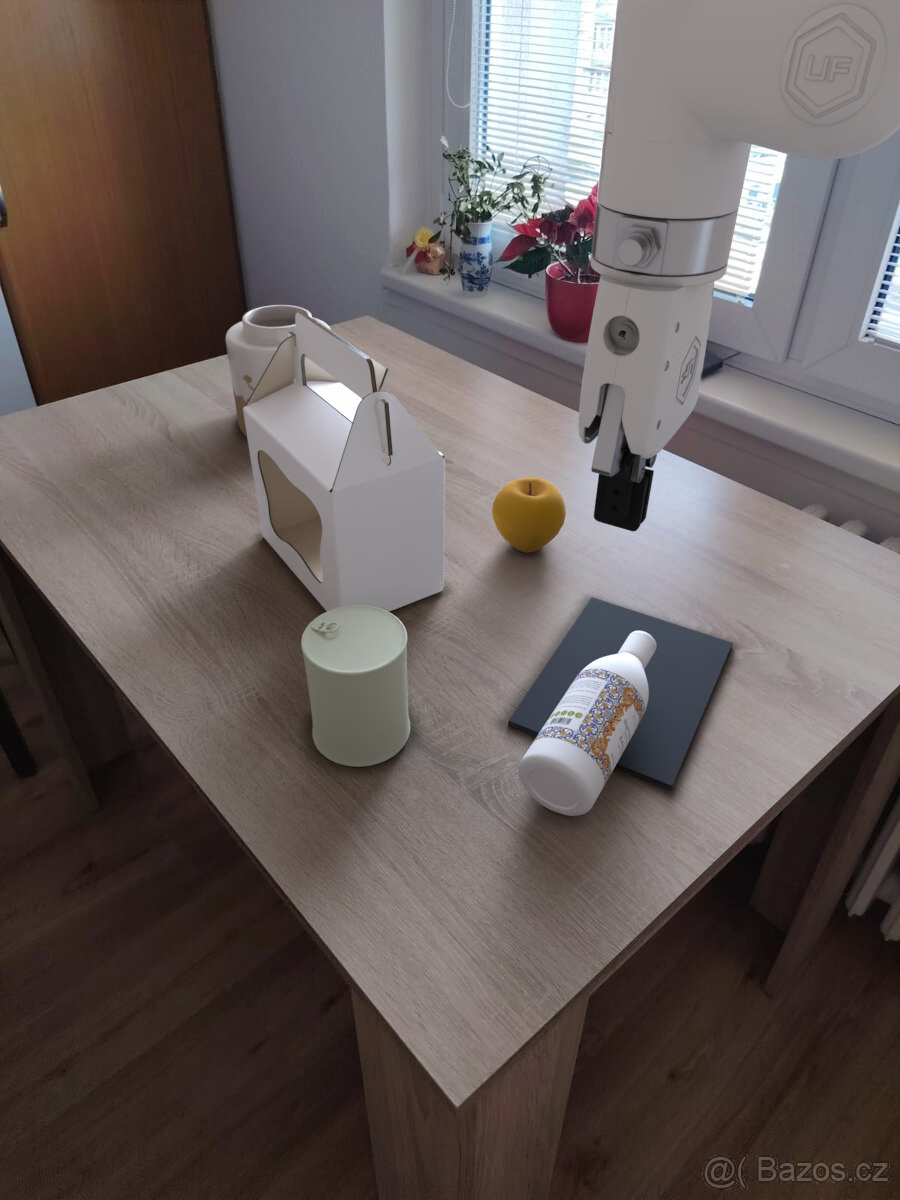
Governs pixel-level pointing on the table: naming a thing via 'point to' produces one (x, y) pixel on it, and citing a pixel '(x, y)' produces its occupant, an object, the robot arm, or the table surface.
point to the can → (357, 684)
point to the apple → (529, 513)
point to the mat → (672, 674)
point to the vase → (257, 348)
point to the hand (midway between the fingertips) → (619, 520)
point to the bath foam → (589, 730)
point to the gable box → (344, 475)
